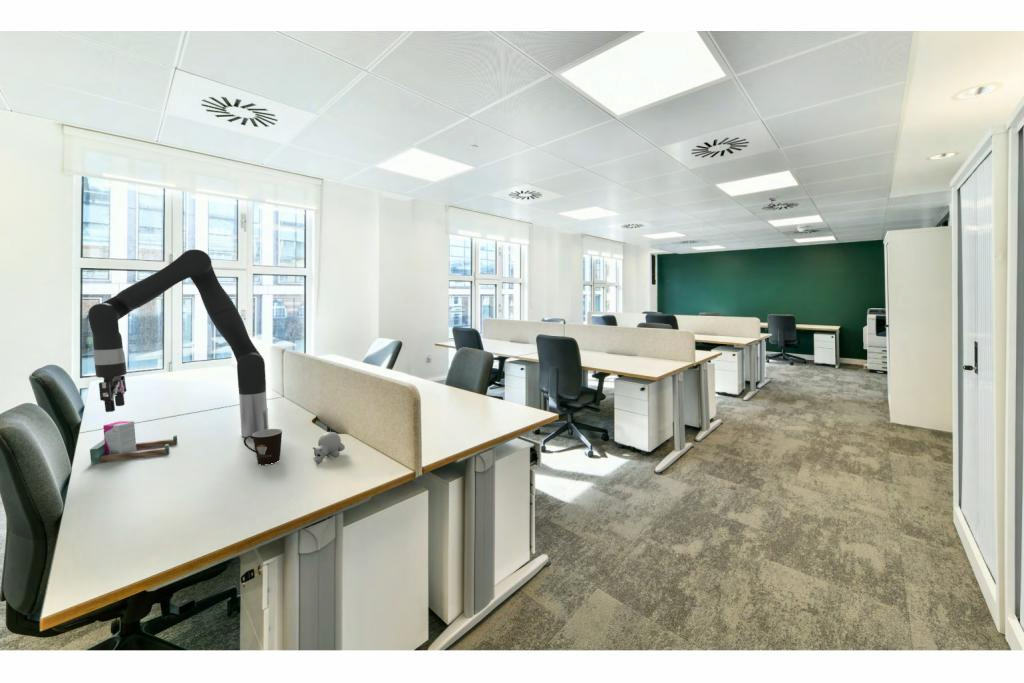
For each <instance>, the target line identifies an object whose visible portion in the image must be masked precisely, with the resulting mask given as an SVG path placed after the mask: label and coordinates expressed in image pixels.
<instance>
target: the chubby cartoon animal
mask: <svg viewBox="0 0 1024 683" xmlns="http://www.w3.org/2000/svg"><path fill="white" fill-rule="evenodd" d="M318 439H319V440H318V441H317V442H318V444H317V445H318V446H316V447H315V446H314V447H312V449H313V454H314V456H313V458H312V459H313V462H315V463H316V464H321V463H322V462H323V461H324V459H325V457H326V456H327V457H330V456H331V457H332V456H333V457H335V458H338V457H339V456H340V455H341V454H340V453H341V452H343V451H344V450H345V447H346V446H345V445H344V443H343V442H342V440H341V436H340V435H339V434H338V433H336V432H333V431H327V432H325V433H323V434H322V435H320V438H318ZM329 455H330V456H329ZM337 456H338V457H337ZM333 457H332V458H333ZM320 462H321V463H320Z"/></svg>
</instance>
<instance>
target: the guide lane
mask: <svg viewBox="0 0 1024 683" xmlns="http://www.w3.org/2000/svg"><path fill="white" fill-rule="evenodd" d="M175 445H176V446H177V445H178V435H177V434H176V435H173V437H172V438H169V439H160V440H150V441H143V442H136V451H135V452H127V453H119V454H111V455H106V452H105V440H104V439H103V440H100V442H98V443H97V444H95V445H94V446H92V447H91V448H89V456H90V464H91V465H94V464H95V465H96V464H97V465H98V464H102V463H104V464H105V463H111V462H118V461H120V462H121V461H126V460H134V459H140V458H147V457H148V458H149V457H156V456H165V455H169V454H170V453H171V452H170V446H175ZM160 447H161V448H160ZM151 448H152V449H151ZM153 448H154V449H153ZM143 449H144V450H143Z"/></svg>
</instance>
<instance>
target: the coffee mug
mask: <svg viewBox="0 0 1024 683" xmlns="http://www.w3.org/2000/svg"><path fill="white" fill-rule="evenodd" d="M282 435H283V430H282V429H280V428H269V429H266V430H261V431H258V432H255V433H253V434H252V436H253V437H252V436H248V437H244V439H243V444H244V446H245V447H246V448H247V449H248V450H250V451H251V452H253V453H254V454H255V457H256V461H257V464H258V465H259V464H261V465H260V466H266V465H265V464H271V463H274V464H276V463H275V462H277V461H279V460H281V453H282V452H281V449H282V437H283V436H282ZM247 439H252V441H253V447H254V448H252V447H251V446H249V445H248V443H247ZM279 462H280V461H279ZM277 463H278V462H277ZM271 465H272V464H271Z"/></svg>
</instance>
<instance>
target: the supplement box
mask: <svg viewBox="0 0 1024 683" xmlns="http://www.w3.org/2000/svg"><path fill="white" fill-rule="evenodd" d="M103 436H104V437H103V438H104V439H103V440H105V452H106V455H111V454H119V453H127V452H135V451H137V450H136V443H137V442H136V440H137V439H136V428H135V421H134V420H133V421H128V420H124V421H123V420H119V421H115V422H112V423H109V424H104V425H103Z"/></svg>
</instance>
